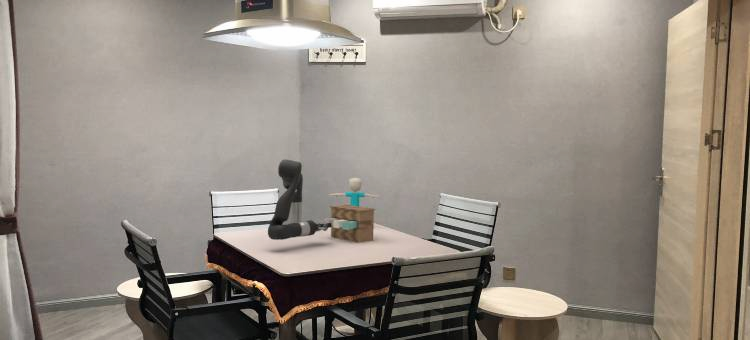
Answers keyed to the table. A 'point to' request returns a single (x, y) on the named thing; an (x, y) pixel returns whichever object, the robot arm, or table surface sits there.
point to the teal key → (350, 225)
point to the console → (354, 214)
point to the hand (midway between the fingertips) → (330, 225)
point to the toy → (354, 186)
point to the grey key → (330, 220)
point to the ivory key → (339, 223)
